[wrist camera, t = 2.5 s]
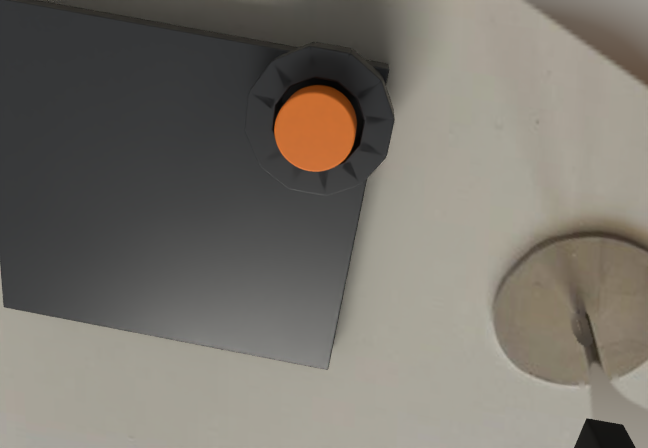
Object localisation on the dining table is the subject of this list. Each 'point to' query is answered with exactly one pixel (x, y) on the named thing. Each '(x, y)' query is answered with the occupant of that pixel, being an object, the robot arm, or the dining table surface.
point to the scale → (176, 180)
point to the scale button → (316, 128)
